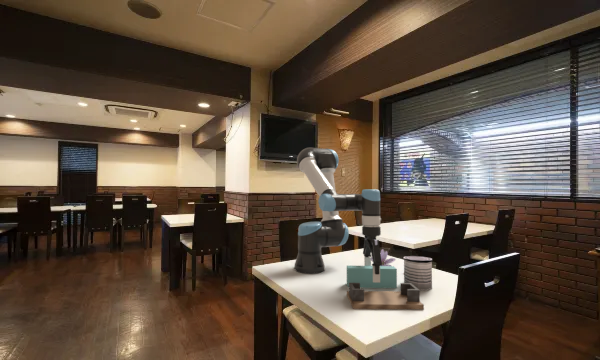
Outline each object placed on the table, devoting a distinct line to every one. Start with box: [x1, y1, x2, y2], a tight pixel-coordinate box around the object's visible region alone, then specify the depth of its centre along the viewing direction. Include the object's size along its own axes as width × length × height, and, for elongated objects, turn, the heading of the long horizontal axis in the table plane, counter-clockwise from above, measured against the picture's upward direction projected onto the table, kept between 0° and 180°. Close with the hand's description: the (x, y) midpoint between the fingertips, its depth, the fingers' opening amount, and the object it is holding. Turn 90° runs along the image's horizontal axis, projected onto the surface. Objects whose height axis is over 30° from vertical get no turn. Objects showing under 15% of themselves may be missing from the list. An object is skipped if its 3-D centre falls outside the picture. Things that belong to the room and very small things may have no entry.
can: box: [403, 255, 433, 291], centre depth 115 cm, size 11×11×12 cm
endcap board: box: [346, 282, 425, 310], centre depth 98 cm, size 24×12×6 cm, turn 90°
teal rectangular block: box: [346, 265, 398, 289], centre depth 114 cm, size 20×4×8 cm, turn 89°
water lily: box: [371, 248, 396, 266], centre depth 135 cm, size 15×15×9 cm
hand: (371, 277), depth 114 cm, fingers open, 13 cm apart
